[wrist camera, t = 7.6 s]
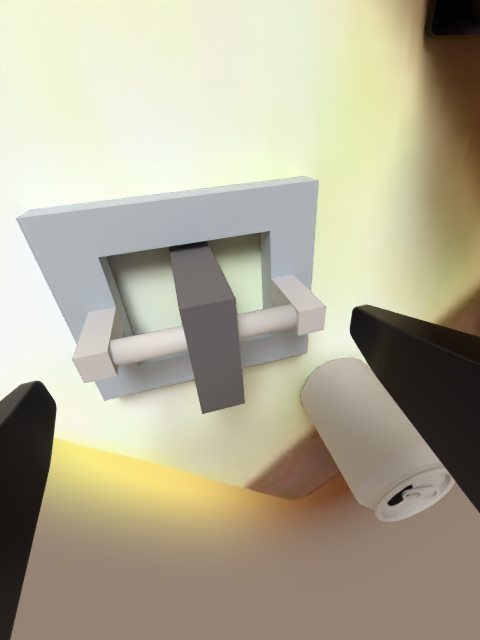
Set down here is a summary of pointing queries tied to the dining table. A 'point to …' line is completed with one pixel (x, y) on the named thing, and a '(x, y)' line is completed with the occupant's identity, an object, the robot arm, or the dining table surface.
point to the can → (373, 441)
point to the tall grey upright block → (208, 325)
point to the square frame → (169, 230)
